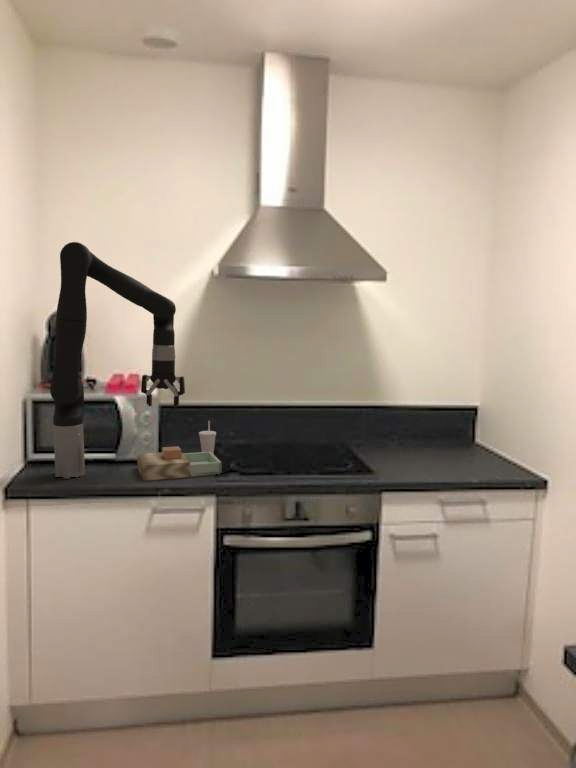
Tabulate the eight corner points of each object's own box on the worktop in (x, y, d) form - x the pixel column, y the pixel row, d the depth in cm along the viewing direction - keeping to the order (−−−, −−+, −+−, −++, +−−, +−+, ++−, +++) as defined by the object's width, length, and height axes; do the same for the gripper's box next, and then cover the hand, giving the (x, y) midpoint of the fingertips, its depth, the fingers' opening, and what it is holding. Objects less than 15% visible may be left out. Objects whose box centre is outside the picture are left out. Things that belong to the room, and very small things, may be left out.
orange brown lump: (165, 459, 214) (164, 451, 214) (162, 455, 219) (162, 447, 219) (181, 458, 216) (181, 449, 216) (178, 454, 221) (178, 446, 221)
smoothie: (213, 461, 233) (213, 422, 231) (196, 459, 234) (196, 422, 232) (218, 456, 239) (218, 419, 237) (202, 455, 241) (202, 418, 239)
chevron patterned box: (143, 480, 208) (143, 465, 207) (137, 468, 222) (137, 454, 222) (190, 476, 213) (189, 462, 212) (180, 464, 228) (180, 450, 227)
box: (190, 476, 213) (190, 465, 212) (181, 464, 228) (181, 453, 227) (221, 474, 216) (221, 462, 216) (210, 462, 231) (210, 451, 231)
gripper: (139, 358, 211) (138, 407, 214) (182, 360, 211) (181, 409, 213) (145, 356, 219) (144, 403, 221) (186, 358, 219) (185, 405, 221)
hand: (162, 406), depth 217 cm, fingers open, 8 cm apart
